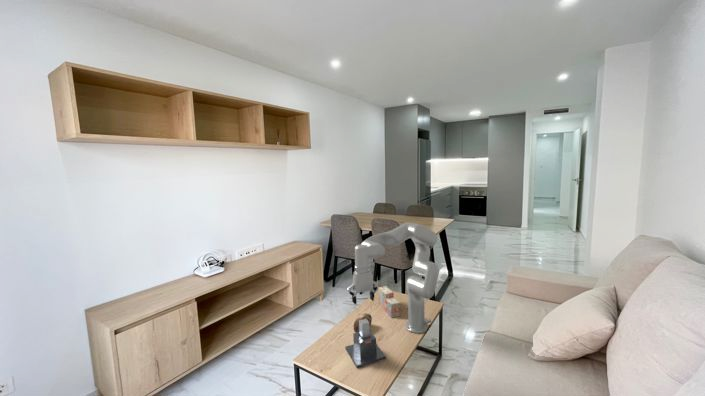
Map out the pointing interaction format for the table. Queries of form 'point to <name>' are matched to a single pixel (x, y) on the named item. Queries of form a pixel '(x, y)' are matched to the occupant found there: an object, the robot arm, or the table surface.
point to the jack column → (364, 329)
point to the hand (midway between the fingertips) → (363, 301)
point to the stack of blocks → (388, 301)
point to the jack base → (364, 351)
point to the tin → (364, 316)
